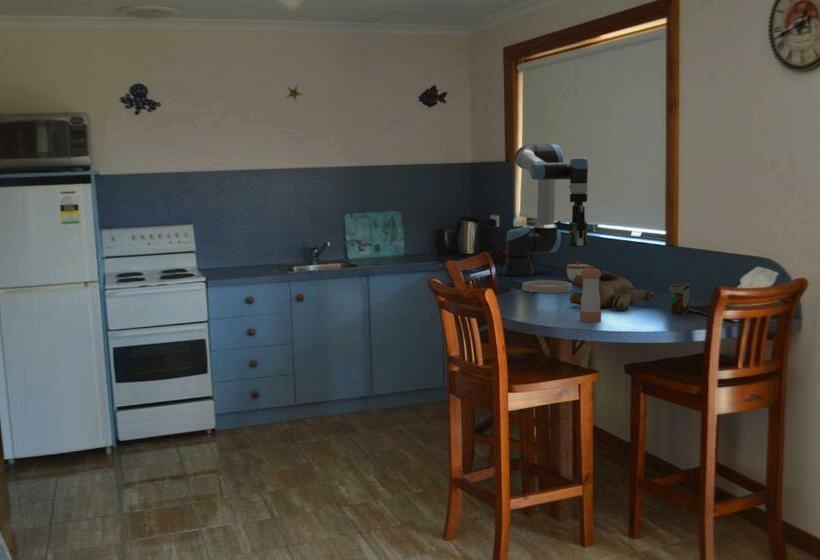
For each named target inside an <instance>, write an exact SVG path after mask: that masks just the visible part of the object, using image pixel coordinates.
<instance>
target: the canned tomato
mask: <svg viewBox="0 0 820 560" xmlns="http://www.w3.org/2000/svg"><path fill="white" fill-rule="evenodd" d="M568 229H569V230H568V247H569V248H571V249H585V248H587V247H588V222H585V229H584V233H583V246H577V231H576V229H578V226H577V223H574V222H572V221H571V222H569V224H568Z"/></svg>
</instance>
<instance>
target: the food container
mask: <svg viewBox="0 0 820 560" xmlns="http://www.w3.org/2000/svg"><path fill="white" fill-rule="evenodd" d="M690 291H691V283H674V284H670V286H669V289H668V292H670V302H671V303H670V304H671V305H670V306H671V307H670V308H671V313H672V314H675V315H679V316H680V315H681V316H684V315H685V314H686V313H688V312H690V293H691V292H690Z"/></svg>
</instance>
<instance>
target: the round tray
mask: <svg viewBox="0 0 820 560" xmlns="http://www.w3.org/2000/svg"><path fill="white" fill-rule="evenodd" d="M521 285H522V290H523V291H524V292H527V291H529V292H528V293H532V292H539V293H538V294H562V293H570V292H571V291H573V282H570V281H569V282H568V281H563V280H551V279H549V280H548V279H547V280H545V279H544V280H542V279H541V280H530V281H529V280H528V281H524V282H522V284H521Z"/></svg>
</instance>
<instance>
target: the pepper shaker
mask: <svg viewBox="0 0 820 560" xmlns="http://www.w3.org/2000/svg"><path fill="white" fill-rule="evenodd" d="M581 276H582V277H583V289H582V291H581V293H582V298H581V305H580V310H579V321H580V322H582V323H583V322H584V323H599V322H601V321H602V311H601V308H600V295H599V282H600V277H601V270H600V269H598V268H595V267H594V266H592V265H590V267H589V268H587V269H584V270H582V272H581Z"/></svg>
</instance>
